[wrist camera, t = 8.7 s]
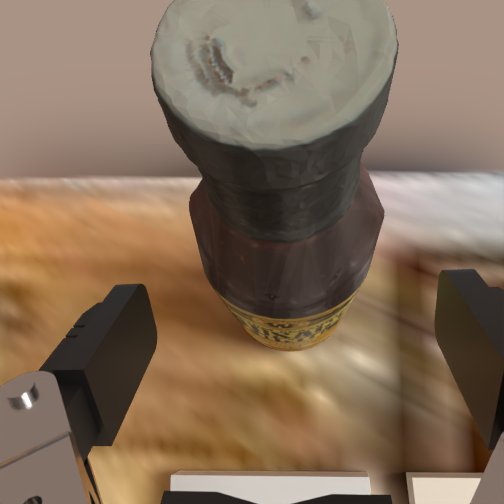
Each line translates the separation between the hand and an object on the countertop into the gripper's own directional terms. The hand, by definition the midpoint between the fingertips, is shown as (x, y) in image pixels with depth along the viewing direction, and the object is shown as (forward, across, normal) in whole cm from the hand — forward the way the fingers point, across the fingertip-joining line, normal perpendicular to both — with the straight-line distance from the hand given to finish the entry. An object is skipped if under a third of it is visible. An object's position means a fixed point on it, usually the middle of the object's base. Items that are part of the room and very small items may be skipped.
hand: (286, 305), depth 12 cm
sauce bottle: (+12, 0, +8) cm, 14 cm away
